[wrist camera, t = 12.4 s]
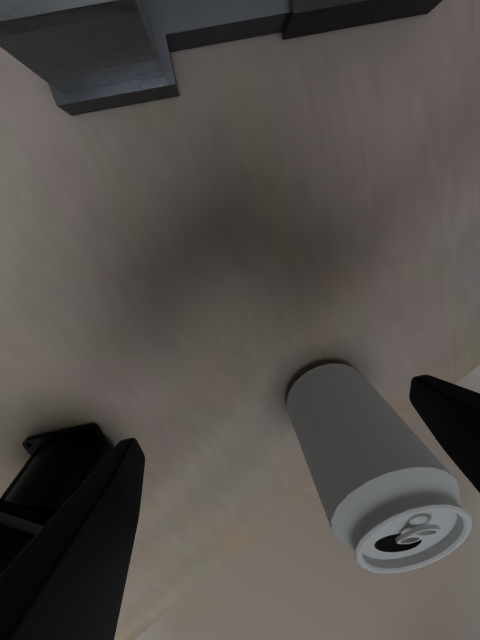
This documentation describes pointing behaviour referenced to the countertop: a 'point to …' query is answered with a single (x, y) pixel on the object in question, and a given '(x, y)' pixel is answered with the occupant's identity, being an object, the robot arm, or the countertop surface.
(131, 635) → the countertop surface
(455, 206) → the countertop surface
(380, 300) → the countertop surface
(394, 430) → the can
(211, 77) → the countertop surface
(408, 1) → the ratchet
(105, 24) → the dark grey block
